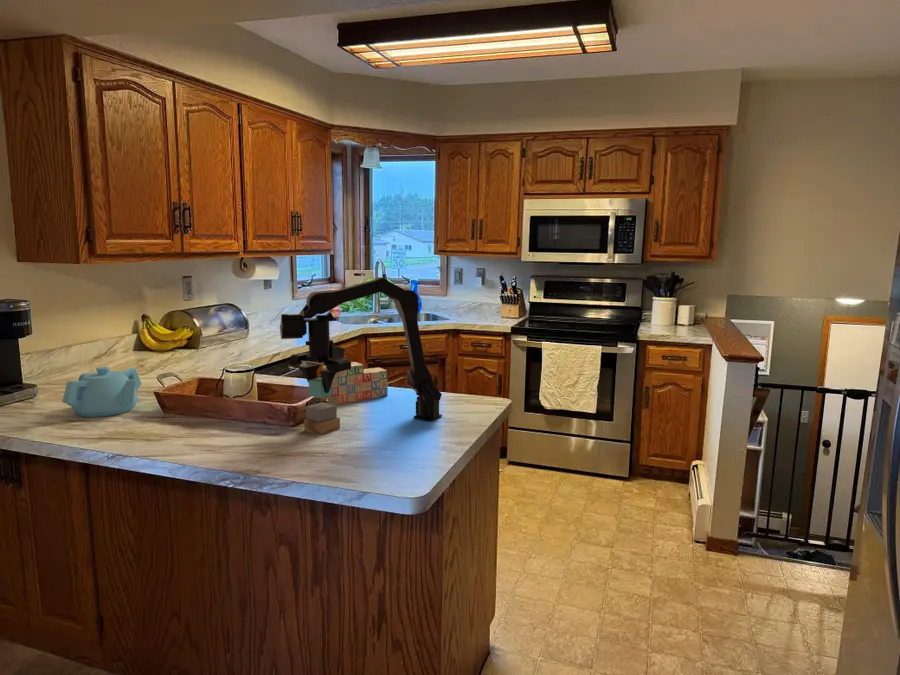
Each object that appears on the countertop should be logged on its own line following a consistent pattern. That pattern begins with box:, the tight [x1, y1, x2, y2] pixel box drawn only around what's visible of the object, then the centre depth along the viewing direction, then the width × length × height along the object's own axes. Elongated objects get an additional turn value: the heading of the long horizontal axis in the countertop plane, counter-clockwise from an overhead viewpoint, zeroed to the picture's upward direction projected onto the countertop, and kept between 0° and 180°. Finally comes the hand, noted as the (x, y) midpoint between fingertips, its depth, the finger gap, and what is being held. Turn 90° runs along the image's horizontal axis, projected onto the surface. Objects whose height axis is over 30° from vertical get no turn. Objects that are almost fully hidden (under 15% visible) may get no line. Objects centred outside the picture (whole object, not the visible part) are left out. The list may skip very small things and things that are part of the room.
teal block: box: [308, 376, 332, 399], centre depth 164 cm, size 4×4×4 cm
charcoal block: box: [305, 401, 338, 423], centre depth 165 cm, size 6×6×4 cm
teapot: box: [62, 366, 142, 418], centre depth 182 cm, size 19×19×14 cm
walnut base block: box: [303, 416, 341, 436], centre depth 166 cm, size 7×7×4 cm
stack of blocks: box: [321, 361, 389, 405], centre depth 198 cm, size 21×6×12 cm, turn 124°
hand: (320, 391), depth 165 cm, fingers closed on teal block, 4 cm apart
